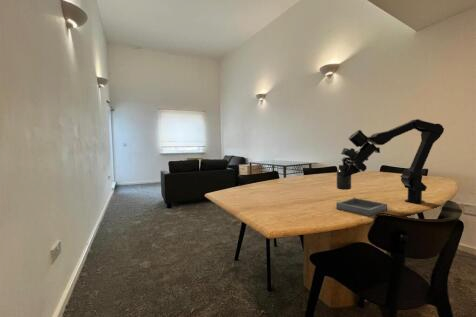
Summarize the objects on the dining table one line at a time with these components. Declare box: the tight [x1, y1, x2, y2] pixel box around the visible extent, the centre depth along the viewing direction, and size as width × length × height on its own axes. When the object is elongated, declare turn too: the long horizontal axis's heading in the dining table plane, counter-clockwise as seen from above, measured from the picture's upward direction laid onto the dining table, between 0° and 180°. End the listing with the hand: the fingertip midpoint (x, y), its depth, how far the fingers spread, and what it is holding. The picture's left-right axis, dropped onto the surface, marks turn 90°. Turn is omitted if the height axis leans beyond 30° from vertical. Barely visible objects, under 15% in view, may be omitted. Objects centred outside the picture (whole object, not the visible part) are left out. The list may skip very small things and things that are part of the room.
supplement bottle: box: [336, 164, 352, 191], centre depth 124 cm, size 7×7×12 cm
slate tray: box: [335, 197, 388, 218], centre depth 110 cm, size 15×15×3 cm
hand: (341, 175), depth 124 cm, fingers closed on supplement bottle, 7 cm apart
